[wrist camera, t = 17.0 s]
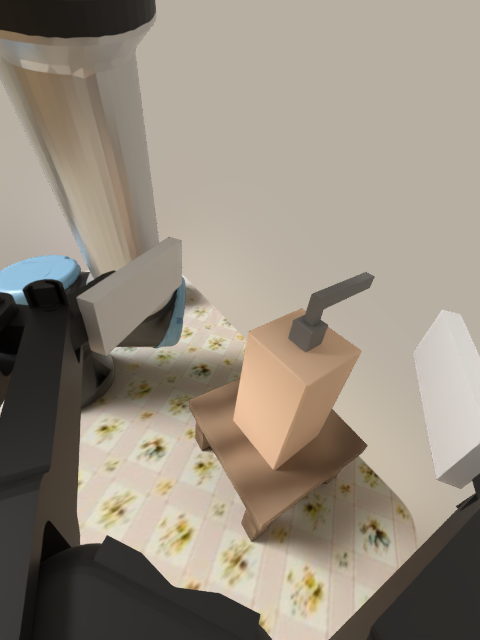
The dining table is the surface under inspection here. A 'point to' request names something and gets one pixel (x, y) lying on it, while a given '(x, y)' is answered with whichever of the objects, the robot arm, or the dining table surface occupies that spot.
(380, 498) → the dining table surface
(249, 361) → the soap dispenser
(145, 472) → the dining table surface
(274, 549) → the dining table surface
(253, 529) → the walnut stool
